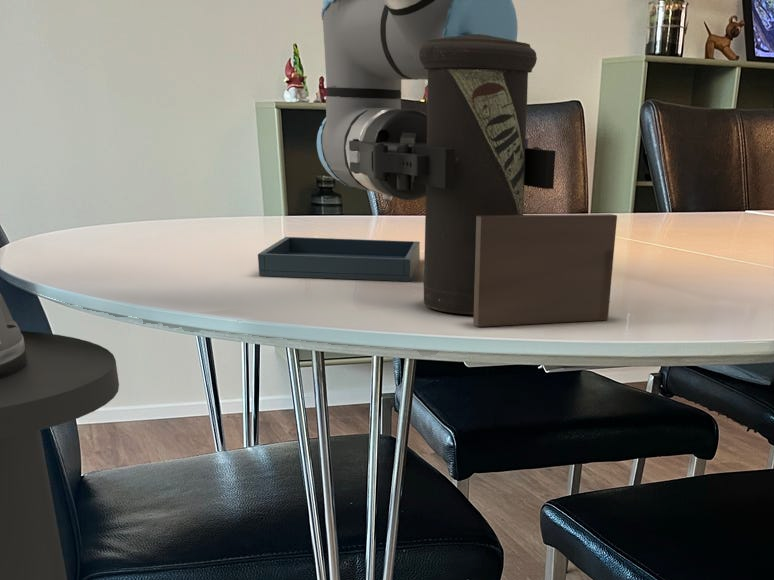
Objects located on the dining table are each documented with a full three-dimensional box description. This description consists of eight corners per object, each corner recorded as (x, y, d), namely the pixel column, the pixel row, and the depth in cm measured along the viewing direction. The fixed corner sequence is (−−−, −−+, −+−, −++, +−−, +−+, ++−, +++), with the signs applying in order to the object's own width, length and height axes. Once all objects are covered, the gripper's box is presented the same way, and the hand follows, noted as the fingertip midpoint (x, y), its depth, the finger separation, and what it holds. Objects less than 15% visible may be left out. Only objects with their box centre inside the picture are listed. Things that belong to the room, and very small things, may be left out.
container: (492, 321, 80) (503, 29, 70) (399, 308, 83) (397, 29, 74) (540, 306, 86) (557, 38, 77) (452, 295, 90) (457, 38, 81)
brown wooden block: (608, 320, 82) (617, 215, 78) (478, 327, 77) (481, 216, 74) (526, 290, 94) (530, 198, 90) (409, 295, 89) (409, 198, 86)
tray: (259, 275, 96) (257, 254, 96) (286, 256, 109) (285, 236, 108) (410, 281, 97) (410, 259, 96) (419, 260, 110) (419, 241, 109)
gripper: (494, 197, 100) (612, 221, 82) (292, 197, 92) (373, 223, 74) (497, 112, 96) (621, 118, 78) (288, 105, 88) (372, 109, 70)
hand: (501, 169), depth 76 cm, fingers closed on container, 8 cm apart
